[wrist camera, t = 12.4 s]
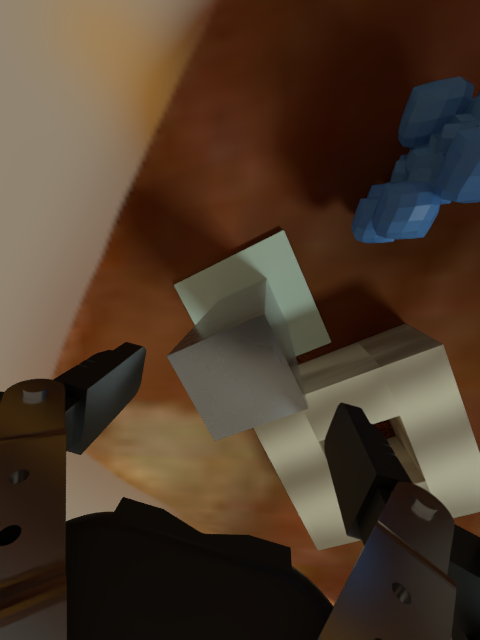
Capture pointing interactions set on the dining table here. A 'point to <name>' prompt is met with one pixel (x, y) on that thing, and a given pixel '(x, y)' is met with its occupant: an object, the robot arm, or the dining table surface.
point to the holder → (378, 405)
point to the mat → (253, 267)
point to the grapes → (426, 164)
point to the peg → (241, 363)
